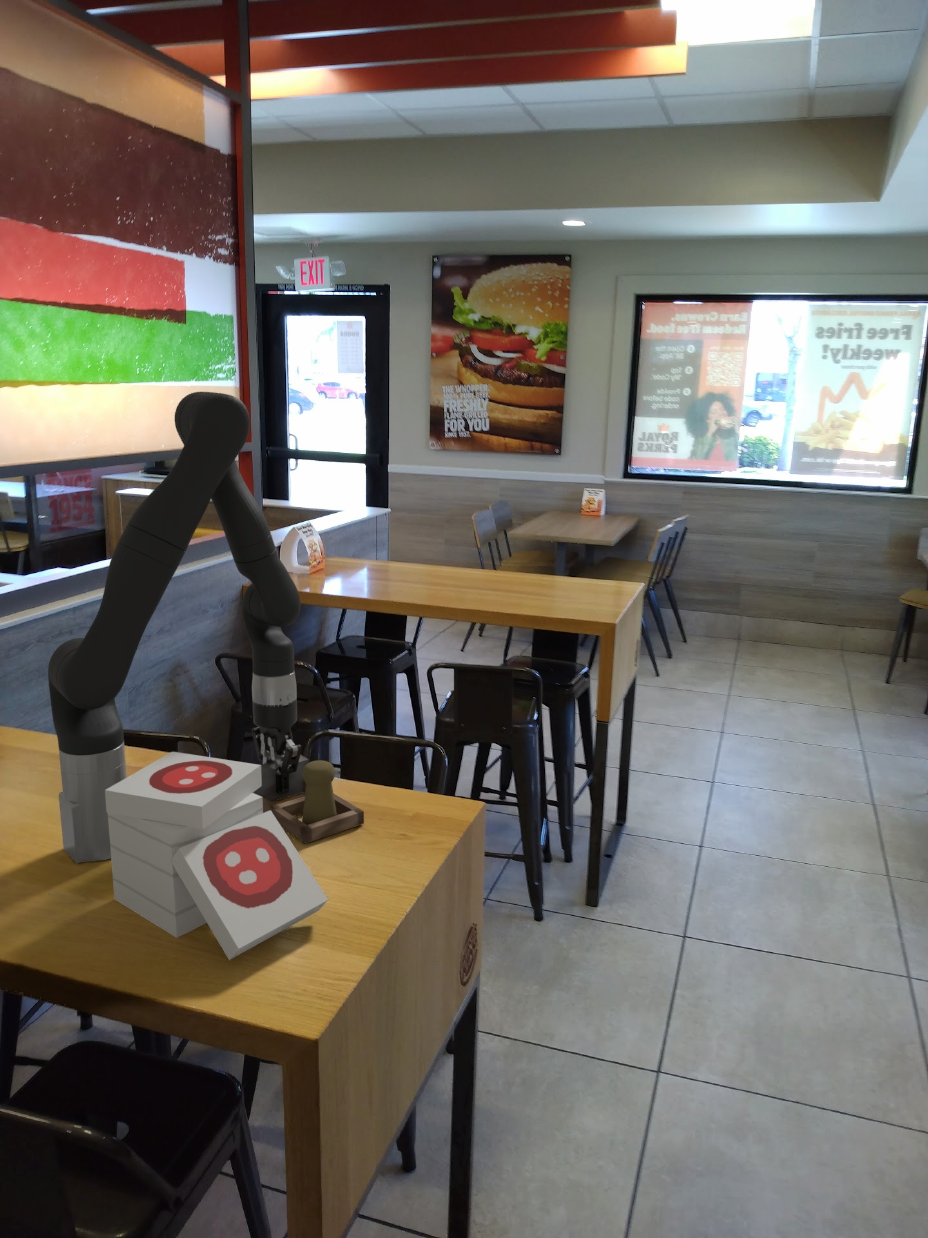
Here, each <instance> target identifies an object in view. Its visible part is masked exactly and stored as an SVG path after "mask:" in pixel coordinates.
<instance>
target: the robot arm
mask: <svg viewBox="0 0 928 1238" xmlns="http://www.w3.org/2000/svg"><path fill="white" fill-rule="evenodd" d="M174 426H175V429H176V432H177V434H178V436H179V439H180V441H181V442H182V444H183V447H182V449H181V451H180V453H179V456H178V458H177V460H176V461H175V464H174V465H173V467H172V468H171V470H170V471H169V473H168V474H167V475H166V476H165V477H164V478H163V480H162V481H161V482H160V483H159V484H158V485H157V486H155V488H154V489H153V490H152V491H151V492H150V493H149V495H148V496H146V497H145V498H144V500H143V501H142V502H141V503H140V504H139V506H138V507H137V508H136V509H135V510H134V512H133V513H132V514H131V517H130V518H129V520H128V522H127V524H126V525H125V527H124V529H123V532H122V534H121V535H120V537H119V539H118V542H117V543H116V546H115V548H114V551H113V553H112V556H111V558H110V562H109V566H108V571H107V574H106V580H105V584H104V590H103V595H102V599H101V602H100V605H99V608H98V611H97V613H96V616H95V617H94V620H93V622H92V623H91V625H90V627H89V629H88V630H87V632H86V633H85V635H84V637H78V638H77V637H76V638H72V639H70V640H67V641H64V642H62V644H60V645H59V646H58V647H57V648H56V649H55V650H54V651H53V653H52V655H51V657H50V659H49V662H48V667H47V669H48V670H47V679H48V680H47V681H48V689H49V698H50V707H51V715H52V716H51V717H52V723H53V727H54V731H55V733H56V737H57V744H58V754H59V755H58V756H59V766H60V777H61V787H62V788H61V789H62V791H61V792H59V793H58V802H59V803H58V804H59V812H60V813H59V814H60V823H61V834H62V835H61V836H62V845H63V851H65V853H66V854H67V855H68V856H69V857H70V858H71V859H72V861H74V862H75V864H80V863H84V862H97V861H99V862H100V861H105V860H109V859H110V860H111V848H110V836H109V823H108V813H107V812H106V798H105V790H106V789H108V788H110V787H111V786H113V785H115V784H117V783H118V782H120V781H122V780H123V779H125V778H127V768H126V767H127V766H126V765H127V763H126V754H125V750H126V749H125V739H124V738H125V737H124V728H123V724H122V721H121V719H120V715H119V713H118V709H117V705H116V700H115V698H116V697H117V696H118V695H119V693H120V692H121V691H122V689H123V687H124V684H125V682H126V680H127V677H128V675H129V672H130V669H131V666H132V664H133V662H134V658H135V656H136V655H135V654H136V652H137V650H138V648H139V645H140V642H141V639H142V637H143V635H144V632H145V630H146V628H147V626H148V625H149V622H150V621H151V619H152V617H153V615H154V613H155V611H156V610H157V607H158V606H159V604H160V602H161V600H162V598H163V596H164V594H165V592H166V589H167V588H168V586H169V585H170V582H171V580H172V578H173V577H174V575H175V574H176V571H177V570H178V568H179V565H180V563H181V561H182V560H183V557H184V556H185V553H186V551H187V550H188V546H189V545H190V542H191V540H192V538H193V537H194V534H195V532H196V530H197V528H198V526H199V525H200V522H201V521H202V518H203V516H204V514H205V512H206V511H207V508H208V506H209V504H210V501H211V502H212V504H213V506H214V509H215V511H216V514H217V517H218V519H219V521H220V524H221V525H220V526H221V527H222V530H223V533H224V535H225V538H226V542H227V544H228V547H229V550H230V553H231V555H232V559H233V561H234V564H235V567H236V569H237V571H238V573H239V574H241V575H242V576H243V577H244V578H246V579H248V580H249V581H250V582H251V583H250V584H249V585H248V586H247V588H246V589H245V591H244V593H243V596H242V600H241V601H242V602H241V609H242V610H241V611H242V612H241V613H242V618H243V621H244V625H245V629H246V632H247V636H248V640H249V643H250V646H251V652H252V653H251V658H252V659H251V660H252V680H251V682H252V683H251V695H252V702H251V703H252V719H253V720H252V722H253V724H254V725H255V726H257V727H252V728H251V735H252V738H253V743H254V747H255V751H256V756H257V759H258V761H260V762H261V761H262V765H263V764H266V763H270V762H274V763H275V769H276V792H277V793H278V794H280V795H281V794H284V793H287V792H289V773H292V772H296V770H297V766H298V762H299V758H300V755H302V753H301V752H302V745H301V744H295V743H294V741H293V737H294V736H293V733H292V727H293V725H295V724H296V722H298V701H297V700H298V698H297V696H298V695H297V681H296V672H295V649H294V643H293V642H292V640H291V639H290V638H289V637H287V636H286V635H285V633H284V632H283V630H282V628H285V627H288V626H291V625H292V624H294V623H295V622H296V620H298V618H299V615H300V612H301V603H302V602H301V597H300V593H299V590H298V588H297V586H296V584H295V582H294V580H293V578H292V577H291V575H290V573H289V572H288V570H287V568H286V566H285V565H284V563H283V562H282V560H281V559H280V557H279V555H278V552H277V549H276V545H275V542H274V539H273V535H272V532H271V528H270V526H269V524H268V521H267V518H266V516H265V515H264V513H263V510H262V509H261V507H260V505H259V504H258V503H257V500H256V498H255V497H254V495H253V494H252V492H251V491H250V489H249V488H248V486H247V484H246V482H245V480H244V478H243V476H242V473H241V471H240V469H239V467H238V465H237V461H236V458H237V457H238V455H239V454H240V452H241V450H242V449H243V447H244V446H245V444H246V442H247V440H248V437H249V434H250V429H251V417H250V413H249V411H248V408H247V406H246V405H245V403H244V402H243V401H242V400H241V399H240V398H237V397H236V396H234V395H231V394H227V393H224V392H223V393H222V392H215V391H213V392H212V391H196V392H191V393H189V394H187V395H185V396H184V397H183V398H181V400H180V401H179V402H178V403H177V406H176V407H175V412H174ZM281 761H283V763H282V767H281V764H280V763H281Z"/></svg>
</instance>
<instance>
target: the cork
mask: <svg viewBox="0 0 928 1238" xmlns="http://www.w3.org/2000/svg"><path fill="white" fill-rule="evenodd" d="M335 772H336V770H335V767H334V765H333V764H332V763H331V762H329V761H326V760H312V761H309V763H308V764H306V765H305V767H304V769H303V778H304V781H305V782H306V791H305V793H304V796H305V800H304V809H303V813H302V817H301V818H302V819H301V822H303V823H304V824H306V825H309V824H312V823H315V822H318V821H321V820H324V819H327V818H330V817H333V816H336V815H338V813H337V812H336V807H335V800H334V794H335V793H334V790H333V783H332V782H333V781H334V779H335V776H336V773H335ZM333 793H334V794H333Z"/></svg>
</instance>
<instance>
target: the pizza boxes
mask: <svg viewBox="0 0 928 1238" xmlns="http://www.w3.org/2000/svg"><path fill="white" fill-rule="evenodd" d="M261 765H262V764H256V763H250V762H245V761H244V762H243V761H235V760H231V759H229V760H228V759H224V758H223V759H222V758H217V757H209V756H204V755H199V754H198V755H196V754H191V753H184V752H179V751H170V752H169V753H167V754H165V755H164V756H162V757H160V758H159V759H157V760H154V761H153V762H151V763H150V764H148V765H146V766H144V767H143V768H141V769H140V770H137V771H135V772H134V773H132V774H131V775H129V776H126V778H125V779H123V780H122V781H120V782H118V783H117V784H115V785H113V786H111V787H110V788H108V789H106V790H105V798H106V812H107V813H108V823H109V836H110V848H111V858H110V860H111V871H112V874H111V875H112V884H113V894H114V895H113V897H114V900H115V901H116V902H118V903H120V904H121V905H123V906H125V907H126V908H128V909H130V910H131V911H132V912H135V913H136V914H138V915H139V916H141V917H142V918H144V919H145V920H146V921H147V920H148V921H149V922H150V923H152V924H153V925H156V926H157V927H158V928H160V929H162V930H163V931H165V932H166V933H168V934H169V935H171V936H173V937H175V938H176V939H177V938H180V937H182V936H183V935H186V934H187V933H189V932H191V931H193V930H195V929H197V928H199V927H202V926H203V925H205V924H207V925H208V927H209V929H210V930H211V932H212V934H213V935H214V937H215V939H216V940H217V942H218V944H219V946H220V947H221V949H222V950H223V952H224V954H225V956H226V957H227V959H228V961H231V960H232V959H234V958H235V957H237V956H239V955H241V954H243V953H245V952H246V951H248V950H250V949H252V948H254V947H255V946H258V945H259V944H261V943H263V942H265V941H267V940H268V939H270V938H272V937H274V936H276V935H277V934H279V933H281V932H283V931H284V930H286V929H288V928H290V927H291V926H293V925H296V924H297V923H299V922H302V920H304V919H306V918H308V917H310V916H311V915H314V914H315V913H317V912H318V911H320V910H321V909H322V908H323V906H324V905H326V903H327V902H328V901H329V898H328V896H327V895H326V893H325V892H324V891H323V889H322V887H321V886H320V884H319V883H318V881H317V879H316V878H315V877H314V875H313V874H312V872H311V870H310V869H309V867H308V865H307V864H306V863H305V861H304V859H303V858H302V857H301V855H300V853H299V851H298V850H297V849H296V847H295V845H294V844H293V843H292V840H291V839H290V837H289V836H288V834H287V833H286V831H285V829H284V828H283V827H281V825H280V824H279V822H278V821H277V819H276V818H275V816H274V815H273V813H272V811H271V810H270V811H267V812H265V813H263V797H261V796H259V795H256V794H254V793H253V792H254V791H256V790H257V789H258V788H260V787H261V786H262V778H261Z"/></svg>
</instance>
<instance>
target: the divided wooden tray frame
mask: <svg viewBox="0 0 928 1238" xmlns="http://www.w3.org/2000/svg"><path fill="white" fill-rule="evenodd" d="M282 763H283V761H281V763H280V764H281V767H282ZM308 763H310V759H309V758H307V757H305V756H303V755H302V754H300V758H299V762H298V766H297V770H296V772H292V773H289V792H287V793H284V794H281V795H280V794H278V793H277V792H276V769H275V763H274V762H270V763H266V764H263V763H262V764H260V765H261V778H262V786H261V787H260V788H258V789H257V790H256V791H254V792H253V793H254V794H256V795H259V796H261V797H263V813H265V812H267V811H270V810H271V811H272V813H273V815H274V816H275V818H276V819H277V821H278V822H279V824H280V825H281V827H282V828H283V830H286V831H287V832H288V833H290V834H292V835H293V836H294V837H295V838H297V839H299V840H300V841H301V842H303V843H304V844H308V843H311V842H314V841H317V840H320V839H323V838H325V837H329V836H331V835H335V834H337V833H340V832H344V831H346V830H350V829H352V828H355V827H357V826H361V825H363V824H365V813H364V812H365V811H364V810H362V809H361V808H359V807H357V806H356V805H354V804H352V803H350V802H349V801H348V800H345V799H344V798H342V797H340V796H339V795H337V794H335V793H334V792H333V794H334V800H335V807H336V813H337V815H336V816H333V817H330V818H327V819H324V820H321V821H318V822H315V823H312V824H309V825H306V824H304V823H303V822H302V820H300V819H298V818H297V817H296V816H298V815H303V809H304V800H305V795H303V796H301V797H298V798H295V799H291V800H287V801H285V802H281V803H277V804H275V803H274V802H277V801H280V800H283V799H287V798H291V797H293V796H297V795H299V794H302V793H303V794H305V791H306V782H305V781H304V778H303V769H304V767H305V765H306V764H308Z"/></svg>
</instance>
